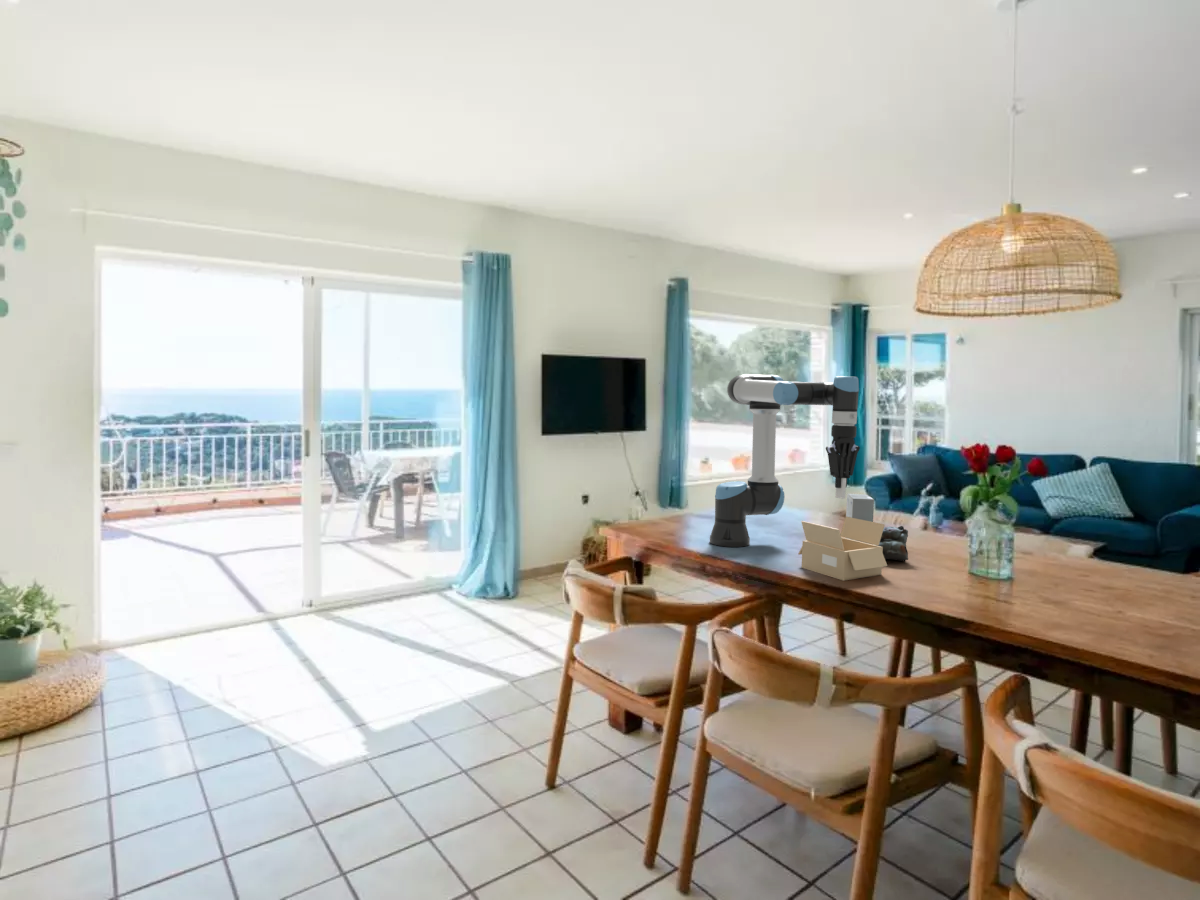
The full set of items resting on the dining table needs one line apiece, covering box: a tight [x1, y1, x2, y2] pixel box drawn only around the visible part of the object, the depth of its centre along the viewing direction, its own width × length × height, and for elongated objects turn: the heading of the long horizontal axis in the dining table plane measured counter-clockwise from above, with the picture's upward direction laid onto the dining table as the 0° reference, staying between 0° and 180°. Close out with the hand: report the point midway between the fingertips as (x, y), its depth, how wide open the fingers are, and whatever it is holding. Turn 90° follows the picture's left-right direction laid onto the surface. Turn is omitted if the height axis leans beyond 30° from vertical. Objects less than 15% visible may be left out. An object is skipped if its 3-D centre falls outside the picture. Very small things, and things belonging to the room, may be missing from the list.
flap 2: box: [840, 516, 886, 545], centre depth 232 cm, size 16×7×1 cm
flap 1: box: [801, 520, 844, 550], centre depth 224 cm, size 16×7×1 cm
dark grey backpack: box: [872, 525, 909, 562], centre depth 247 cm, size 15×12×14 cm
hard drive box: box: [845, 493, 875, 544], centre depth 263 cm, size 16×8×20 cm, turn 168°
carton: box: [798, 537, 888, 582], centre depth 229 cm, size 24×17×9 cm
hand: (840, 497), depth 227 cm, fingers closed
